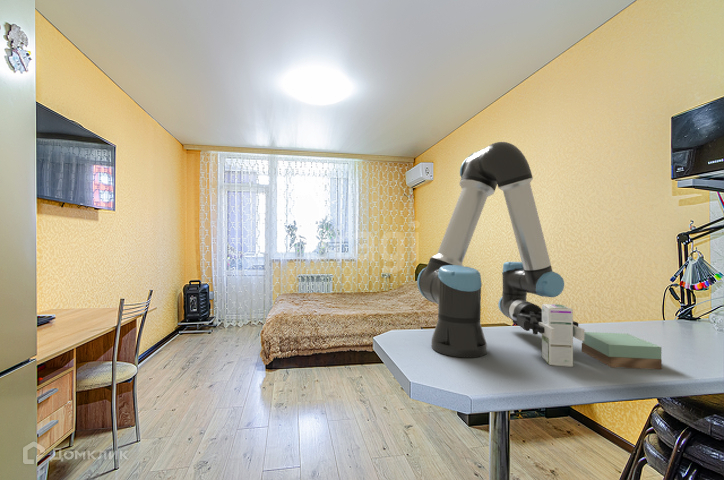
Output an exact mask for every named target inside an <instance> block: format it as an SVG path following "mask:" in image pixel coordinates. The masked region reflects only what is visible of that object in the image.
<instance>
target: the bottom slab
mask: <svg viewBox="0 0 724 480" xmlns="http://www.w3.org/2000/svg"><path fill="white" fill-rule="evenodd" d="M581 352H582V353H583V354H585V355H587V356H589V357H591V358H593V359H595V360H596V359H597V361H598V360H599V362H600V361H601V363H602V364H604V365H606V366H607V365H608V367H609V366H610V367H609V368H617V367H625V368H624V369H644V368H646V370H647V369H648V370H649V369H650V370H662V369H663V368H662V365H663V364H662V361H663V359H662V358H661V359H645V358H625V357H609V356H607V355H605V354H603V353H601V352H599V351H597V350H596V349H594V348H592V347H590V346H588V345H586V344H584V343H583V342H581Z"/></svg>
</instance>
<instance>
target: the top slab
mask: <svg viewBox="0 0 724 480" xmlns="http://www.w3.org/2000/svg"><path fill="white" fill-rule="evenodd" d="M581 343H584V344H586V345H588V346H590V347H592V348H594V349H596V350H597V351H599V352H601V353H603V354H605V355H607V356H609V357H625V358H645V359H662V346H659V345H658V344H654V343H652V342H650V341H647V340H644V339H642V338H640V337H638V336H634V335H632V334H629V333H622V332H621V333H620V332H619V333H617V332H616V333H615V332H597V331H596V332H594V331H593V332H592V331H585V334H584V341H581Z"/></svg>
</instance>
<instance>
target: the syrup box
mask: <svg viewBox="0 0 724 480" xmlns="http://www.w3.org/2000/svg"><path fill="white" fill-rule="evenodd" d="M541 309H542V323H544V324H546V325H548V326H550V327H552V328H554V340H551V339H549V338H547V337H546V336H544V335H542V334H541V358H542V359H543V360H544V361H545V362H546V364H548V365H550V366H554V367H555V366H556V367H569V368H572V367H574V337H573V321H574V320H573V319H574V314H573V313H574V309H573V308H570V307H568V306H567V305H564V304H557V303H545V304H544V303H542V304H541Z"/></svg>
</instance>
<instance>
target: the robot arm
mask: <svg viewBox="0 0 724 480" xmlns="http://www.w3.org/2000/svg"><path fill="white" fill-rule="evenodd" d="M459 176H460V177H461V178H460V181H459V186H460V187H461V191H460V193H459V196H458V198H457V202H456V204H455V207H454V209H453V211H452V215H451V217H450V219H449V222H448V225H447V227H446V229H445V232H444V235H443V238H442V240H441V242H440V245H439V248H438V250H437V253H436V254H435V255H432V256H430V257H429V261H428V263H427V266H426V267H424V268H422V270H421V271H420V272H419V274H418V276H417V279H416V284H417V285H416V286H417V289H418V291H419V294H420V295H422V296H423V298H425V299H426V300H427V301H429V302H431V303H433V304H434V303H435V304H437V305H438V306H437V309H438V311H437V322H436V326H435V328H434V331H433V334H432V337H431V348H432V349H433V351H435V352H437V353H439V354H442V355H445V356H450V357H456V358H477V357H478V358H479V357H482V356H485V355H486V354H487V353H488V352H487V350H488V349H487V348H488V345H487V340H486V338H485V334H484V332H483V328H482V323H481V312H482V311H481V305H482V304H481V303H482V299H481V298H482V286H483V284H482V277H481V273H480V271H479V270H478V269H476V268H473V267H471V266H464V265H463V262H464V259H465V256H466V254H467V251H468V249H469V246H470V243H471V241H472V238H473V236H474V232H475V230H476V227H477V225H478V223H479V220H480V218H481V215H482V212H483V209H484V207H485V204H486V201H487V199H488V198H489V197H490V196H493V195H494V194H495V191H496V188H497V187H498V189H499V190H501V191H502V192H503V196H504V200H505V204H506V207H507V211H508V212H507V213H508V215H509V219H510V222H511V227H512V230H513V233H514V237H515V242H516V245H517V249H518V252H519V257H520V260H521V261H505V262H504V263H503V266H502V272H501V275H502V293H501V294H502V295H501V297H500V298H499V300H498V309H499V311H500V312H501V313H502V314H503V315H504V316H505V317H507V318H509V319H511V321H512V323H514V324H516V325H518V326H519V327H520V328H521V329H523V330H524V331H526V332H528V331H529V332H530V330H532V335H538V334H540V335H541V336H542V335H544V336H546V337H547V338H549V339H551V340H554V328H552V327H550V326H548V325H546V324H544V323H542V307H540V306H539V305H537V304H535V303H533V302H530V301H527V294H531V295H537V296H540V297H543V298H544V297H545V298H556V297H558V296H560V295H561V294H562V293H563V291H564V289H565V280H564V278H563V276H561V275H560V274H559V273H558V272H555V271H553V267H552V263H551V260H550V255H549V252H548V248H547V243H546V241H545V237H544V231H543V229H542V225H541V220H540V216H539V212H538V209H537V206H536V201H535V197H534V194H533V191H532V190H533V189H532V185H531V182H532V181H533V179H534V177H533V174H532V169H531V167H530V164H529V162H528V160H527V158H526V156H525V155H524V153H523V152H522V151H521V150H520V149H519V147H517V146H516V145H514V144H512V143H510V142H507V141H497V142H494V143H492V144H489V145H488V146H486V147H484V148H482V149H479V150H478V151H475V152H472V153H471V154H470V155H468V156H467V157H466V158H465V159H464V160H463V161H462V163H461V165H460V168H459ZM585 332H586V330H585V329H584V328H582V327H580V326H579V322H577V321H575V320H573V338H575V339H577V340H579V341H581V342H582V341H584V334H585Z"/></svg>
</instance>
